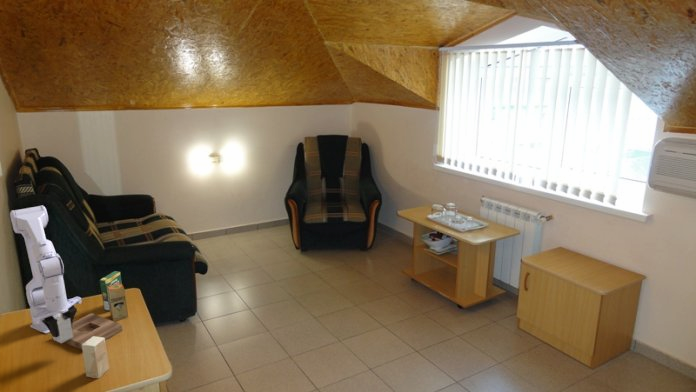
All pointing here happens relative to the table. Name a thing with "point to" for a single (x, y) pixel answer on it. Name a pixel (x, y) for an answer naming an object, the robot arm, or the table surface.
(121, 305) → the shoe polish box
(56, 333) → the robot arm
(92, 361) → the box
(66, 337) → the peg
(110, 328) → the socket block
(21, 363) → the table surface
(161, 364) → the table surface
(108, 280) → the coffee box
